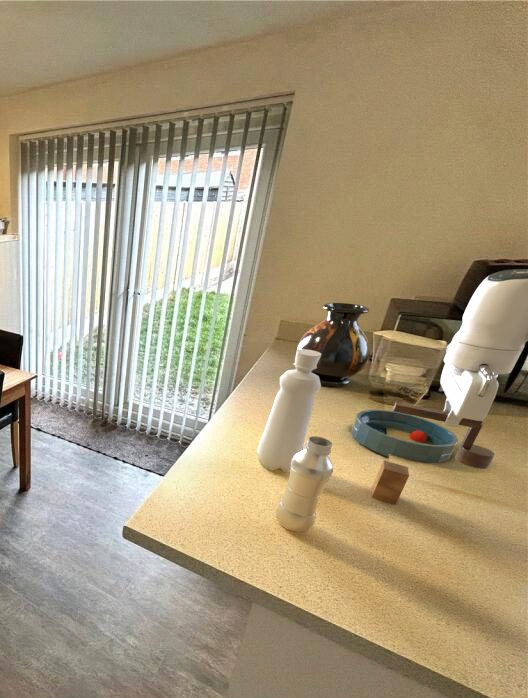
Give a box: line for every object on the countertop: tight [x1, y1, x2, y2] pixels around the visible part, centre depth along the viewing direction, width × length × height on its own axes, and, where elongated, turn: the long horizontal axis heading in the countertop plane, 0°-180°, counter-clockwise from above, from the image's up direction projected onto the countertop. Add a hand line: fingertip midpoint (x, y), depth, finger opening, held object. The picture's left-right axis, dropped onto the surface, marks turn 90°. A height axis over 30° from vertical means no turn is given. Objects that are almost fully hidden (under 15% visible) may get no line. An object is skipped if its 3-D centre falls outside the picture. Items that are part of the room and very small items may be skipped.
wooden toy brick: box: [371, 459, 410, 505], centre depth 86 cm, size 4×4×8 cm
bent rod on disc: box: [392, 401, 496, 470], centre depth 81 cm, size 16×5×9 cm, turn 51°
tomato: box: [409, 431, 427, 443], centre depth 105 cm, size 3×3×3 cm
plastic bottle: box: [275, 435, 334, 533], centre depth 76 cm, size 6×7×20 cm
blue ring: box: [350, 409, 459, 463], centre depth 105 cm, size 20×20×6 cm
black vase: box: [294, 302, 371, 388], centre depth 142 cm, size 22×22×28 cm
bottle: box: [256, 349, 322, 474], centre depth 93 cm, size 9×9×30 cm
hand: (448, 421), depth 80 cm, fingers closed on bent rod on disc
